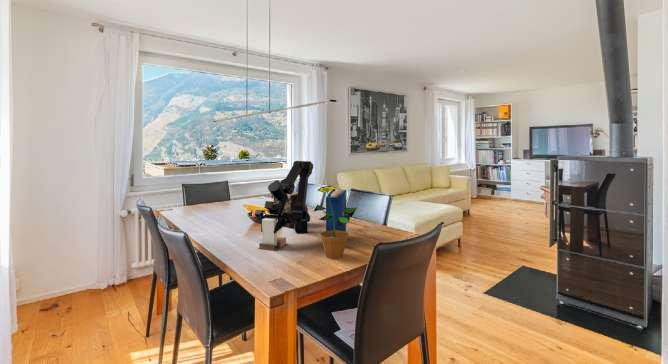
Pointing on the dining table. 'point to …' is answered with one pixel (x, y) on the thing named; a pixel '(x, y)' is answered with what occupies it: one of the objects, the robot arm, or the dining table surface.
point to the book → (336, 209)
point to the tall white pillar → (269, 231)
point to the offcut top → (281, 239)
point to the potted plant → (334, 238)
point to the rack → (270, 246)
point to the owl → (289, 207)
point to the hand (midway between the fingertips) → (267, 232)
